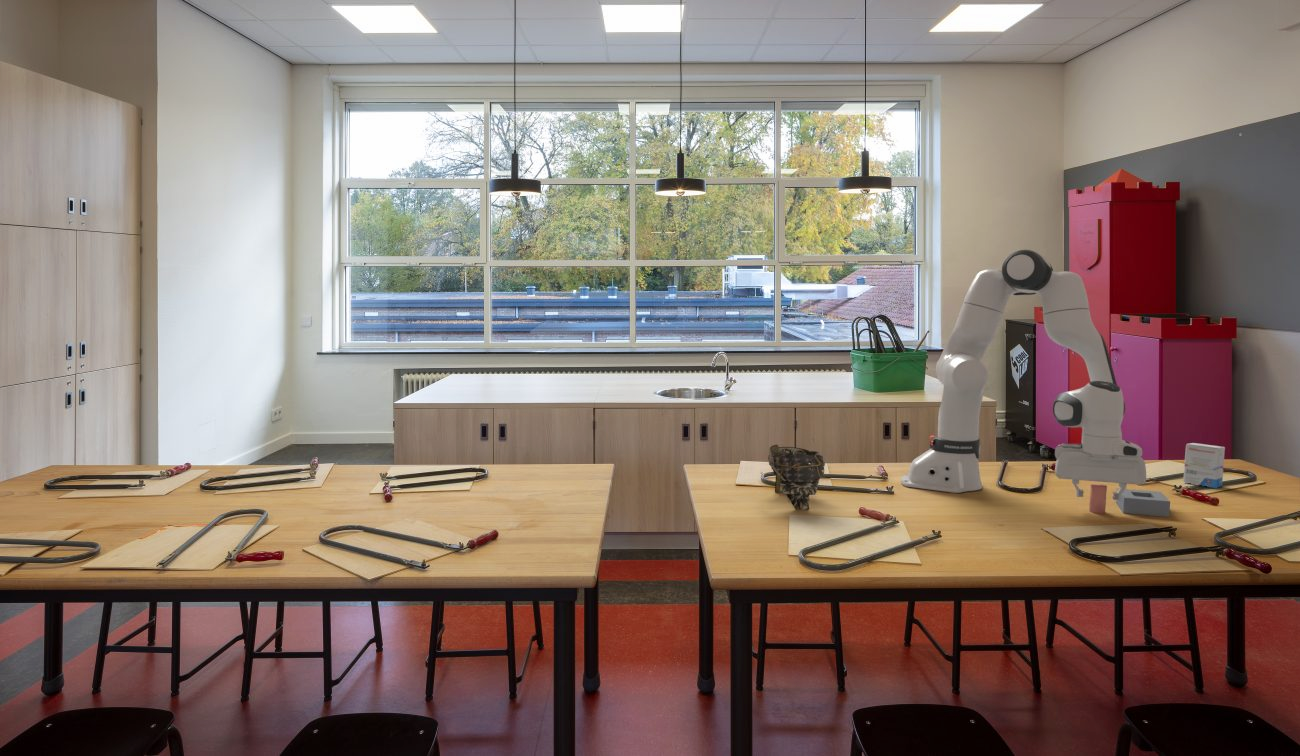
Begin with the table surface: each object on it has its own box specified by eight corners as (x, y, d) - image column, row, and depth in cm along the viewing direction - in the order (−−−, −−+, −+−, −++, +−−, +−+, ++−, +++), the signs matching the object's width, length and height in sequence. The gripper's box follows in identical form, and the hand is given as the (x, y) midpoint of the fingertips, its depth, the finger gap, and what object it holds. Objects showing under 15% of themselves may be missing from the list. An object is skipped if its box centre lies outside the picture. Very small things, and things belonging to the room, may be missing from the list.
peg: (1090, 512, 197) (1091, 486, 196) (1088, 509, 200) (1089, 483, 200) (1106, 514, 196) (1108, 487, 195) (1103, 510, 199) (1105, 484, 198)
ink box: (1223, 486, 222) (1226, 446, 221) (1216, 488, 219) (1219, 448, 218) (1189, 480, 229) (1192, 441, 228) (1182, 482, 226) (1185, 443, 225)
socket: (1123, 513, 197) (1124, 497, 196) (1116, 502, 206) (1116, 488, 205) (1169, 516, 193) (1170, 501, 193) (1159, 506, 202) (1160, 491, 202)
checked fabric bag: (760, 493, 223) (762, 442, 222) (812, 494, 223) (814, 443, 222) (775, 510, 200) (777, 453, 200) (833, 511, 201) (835, 454, 200)
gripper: (1056, 444, 197) (1053, 497, 199) (1149, 450, 189) (1146, 505, 191) (1054, 440, 203) (1051, 491, 204) (1144, 445, 195) (1140, 498, 197)
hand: (1097, 498), depth 198 cm, fingers open, 7 cm apart
